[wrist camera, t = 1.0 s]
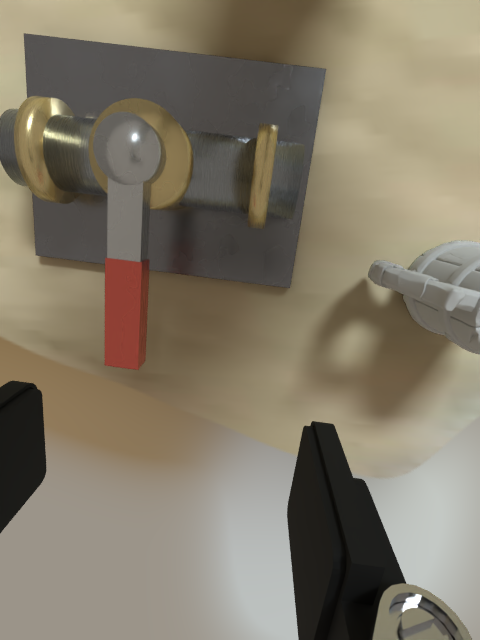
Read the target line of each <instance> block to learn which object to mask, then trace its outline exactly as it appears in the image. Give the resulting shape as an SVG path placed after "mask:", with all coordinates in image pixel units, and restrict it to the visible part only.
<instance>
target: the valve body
mask: <svg viewBox="0 0 480 640" xmlns="http://www.w3.org/2000/svg"><path fill="white" fill-rule="evenodd" d="M24 46H25V64H26V83H27V99H26V100H25V101H24V102H23V103H22V105H21V106H20V108H19V109H9V110H7V111H5V112H4V113H3V114H2V115H1V117H0V161H1V164H2V166H3V168H4V170H5V171H6V173H7V174H8V176H9V177H10V178H11V179H12V180H13V181H14V182H16V183H17V184H19V185H21V186H27V187H29V188H30V190H31V191H32V193H33V212H34V230H35V249H36V255H38V256H46V257H53V258H61V259H69V260H77V261H84V262H92V263H100V264H105V258H106V257H107V214H108V177H107V176H106V175H105V174H104V173H103V172H102V170H101V169H100V167H99V166H98V164H97V162H96V159H95V156H94V151H93V139H94V135H95V131H96V129H97V127H98V126H99V124H100V123H101V122H102V120H103V119H105V118H106V117H107V116H109V115H111V114H113V113H116V112H130V113H133V114H136V115H138V116H139V117H141V118H142V119H144V120H145V121H146V122H147V123H148V124H150V125H151V126H152V127H153V128H154V129H155V130H156V131H157V132H158V133H159V135H160V136H161V138H162V140H163V142H164V145H165V149H166V164H165V168H164V170H163V172H162V174H161V176H160V177H159V178H158V179H157V180H156V181H155V182H154V183H152V184H151V193H150V217H149V242H148V259H149V260H150V262H149V270H154V271H162V272H170V273H177V274H185V275H193V276H201V277H208V278H216V279H224V280H232V281H239V282H247V283H255V284H263V285H270V286H278V287H286V288H290V284H291V278H292V272H293V266H294V260H295V254H296V248H297V242H298V236H299V230H300V224H301V218H302V212H303V206H304V200H305V194H306V188H307V182H308V175H309V169H310V163H311V157H312V151H313V145H314V139H315V133H316V127H317V121H318V115H319V109H320V103H321V97H322V91H323V85H324V79H325V73H326V69H322V68H314V67H305V66H297V65H288V64H280V63H271V62H263V61H254V60H246V59H237V58H229V57H220V56H212V55H203V54H195V53H186V52H178V51H169V50H160V49H152V48H143V47H135V46H126V45H118V44H109V43H101V42H92V41H84V40H75V39H67V38H58V37H50V36H41V35H33V34H24Z"/></svg>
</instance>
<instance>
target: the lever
mask: <svg viewBox="0 0 480 640" xmlns="http://www.w3.org/2000/svg"><path fill="white" fill-rule="evenodd" d="M93 151H94V156H95V159H96V162H97V164H98V166H99V167H100V169H101V170H102V172H103V173H104V174H105V175H106V176H107V177H108V214H107V257H106V258H105V365H106V366H113V367H121V368H128V369H136V370H138V369H139V368H140V367H141V365H142V364H143V363H144V362H145V356H146V333H147V309H148V285H149V262H150V260H149V259H148V242H149V217H150V193H151V184H152V183H154V182H155V181H156V180H157V179H158V178H159V177H160V176H161V174H162V172H163V170H164V168H165V164H166V149H165V145H164V142H163V140H162V138H161V136H160V135H159V133H158V132H157V131H156V130H155V129H154V128H153V127H152V126H151V125H150V124H148V123H147V122H146V121H145V120H144V119H142V118H141V117H139V116H138V115H136V114H133V113H130V112H116V113H113V114H111V115H109V116H107V117H106V118H105V119H103V120H102V122H101V123H100V124H99V126H98V127H97V129H96V131H95V135H94V139H93Z"/></svg>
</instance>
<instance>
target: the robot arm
mask: <svg viewBox="0 0 480 640" xmlns="http://www.w3.org/2000/svg"><path fill="white" fill-rule="evenodd" d="M45 474H46V455H45V438H44V421H43V403H42V393H41V391H40V390H38V389H37V387H36V385H34V384H33V383H26V382H19V381H10V382H8V383H6V384H5V385H3V386H2V387H0V533H1V532H2V530H3V529H4V528H5V527H6V526H7V524H8V523H9V522H10V521H11V519H12V518H13V517H14V516H15V515H16V513H17V512H18V511H19V510H20V509H21V507H22V506H23V505H24V504H25V502H26V501H27V500H28V499H29V497H30V496H31V495H32V494H33V493H34V492H35V490H36V489H37V488H38V487H39V485H40V484H41V483H42V481H43V479H44V477H45ZM287 518H288V529H289V540H290V551H291V562H292V572H293V582H294V593H295V603H296V604H295V605H296V615H297V626H298V637H299V640H472V638H471V636H470V634H469V632H468V630H467V628H466V627H465V626H464V624H463V623H462V622H461V620H460V619H459V617H458V616H457V615H456V613H454V612H453V611H452V610H451V609H450V608H449V607H448V606H447V605H446V604H445V603H444V602H443V601H441V599H439V598H438V597H436V596H435V595H433V594H432V593H430V592H429V591H427V590H424V589H422V588H420V587H417V586H415V585H409V584H406V582H405V579H404V577H403V574H402V572H401V569H400V567H399V564H398V562H397V559H396V557H395V554H394V552H393V549H392V547H391V544H390V542H389V539H388V537H387V534H386V532H385V529H384V527H383V524H382V522H381V519H380V517H379V514H378V512H377V510H376V507H375V504H374V502H373V499H372V497H371V494H370V492H369V489H368V487H367V485H366V483H365V481H364V480H362V479H357V478H353V476H352V473H351V471H350V468H349V465H348V462H347V460H346V457H345V454H344V451H343V448H342V446H341V443H340V440H339V437H338V434H337V432H336V429H335V426H334V424H329V423H322V422H314V421H313V422H312V423H311V426H304V428H303V432H302V437H301V442H300V447H299V452H298V457H297V462H296V467H295V472H294V477H293V482H292V487H291V491H290V496H289V501H288V511H287Z"/></svg>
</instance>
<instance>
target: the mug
mask: <svg viewBox="0 0 480 640" xmlns="http://www.w3.org/2000/svg"><path fill="white" fill-rule="evenodd" d="M422 255H423V256H419V257H418V258H417V259H416V260H415V261H414V262H413V263H412V265H411V266H410V268H409V269H408V270H407V269H403V267H402V266H400V265H397V264H394V263H391V262H388V261H383V260H381V261H380V260H377V261H375V262H374V263H373V264H372V265H371V267H370V269H369V273H368V277H369V278H370V279H371V280H372V281H373V282H374V283H375V284H377V285H379V286H382V287H385V288H389V289H392V290H395V291H398V292H399V293H401V294H404V295H403V299H404V302H405V303H406V307H407V309H408V311H409V313H410V315H411V316H412V318H413V319H414V320H415V321H416V322H417V323H418V324H419V325H421V326H422V327H423V328H425V329H427V330H429V331H431V332H433V333H436V334H440V335H445V336H446V338H447V339H449V340H450V341H452V342H454V343H455V344H457V345H458V346H460V347H462V348H463V349H465V350H467V351H469V352H472V353H475V354H480V243H478V242H473V241H451V242H448V243H444V244H442V245H439V246H437V247H435V248H433V249H430V250H428V251H426V252H425V253H423V254H422Z"/></svg>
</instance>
